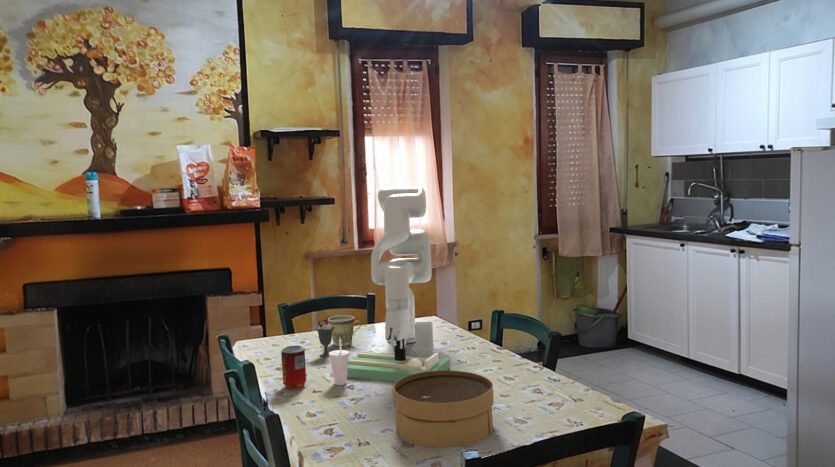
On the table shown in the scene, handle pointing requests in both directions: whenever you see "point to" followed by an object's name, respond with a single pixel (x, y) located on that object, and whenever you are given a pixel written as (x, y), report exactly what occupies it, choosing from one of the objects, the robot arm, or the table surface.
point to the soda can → (293, 367)
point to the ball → (414, 362)
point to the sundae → (325, 335)
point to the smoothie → (339, 365)
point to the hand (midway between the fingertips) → (400, 360)
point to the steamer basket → (443, 408)
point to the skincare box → (424, 339)
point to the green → (391, 366)
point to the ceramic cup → (343, 329)
